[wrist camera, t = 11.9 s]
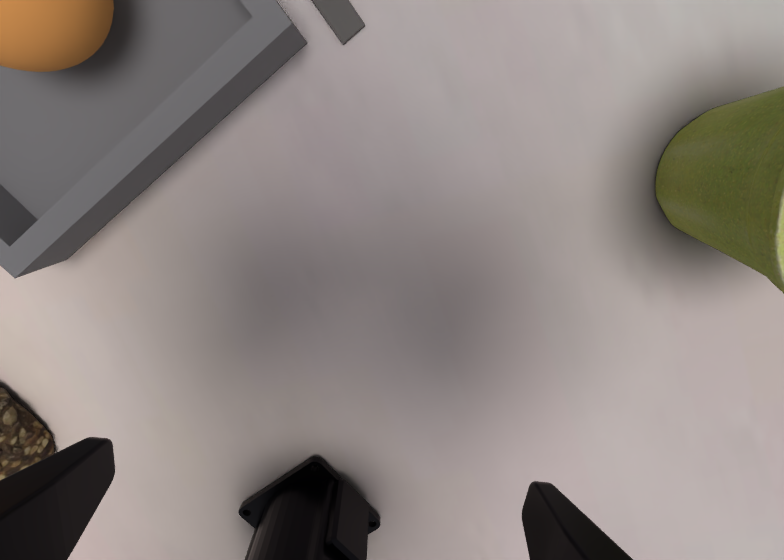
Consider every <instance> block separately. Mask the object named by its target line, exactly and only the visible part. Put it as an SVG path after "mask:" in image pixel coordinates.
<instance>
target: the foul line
mask: <svg viewBox="0 0 784 560" xmlns="http://www.w3.org/2000/svg"><path fill="white" fill-rule="evenodd" d="M312 1H313V2H314V4H315V5H316V7H317V8H318V9H319V11H320V12H321V14H322V15H323V17H324V18H325V19H326V21H327V22H328V24H329V25H330V26H331V28H332V29H333V31H334V32H335V34H336V35H337V36H338V38H339V39H340V41H341V42H342V43H343V45H344V44H345V43H346V42H347V41H348V40H349V39H351V38H352V37H353V36H354V35H355V34H356V33H357V32H358V31H360V30H361V29H362V28H363V27H364V26H365V24H364V22H363V21H362V19H361V18H360V16H359V15H358V14H357V12H356V11H355V9H354V8H353V6H352V5H351V3H350V2H349V0H312Z"/></svg>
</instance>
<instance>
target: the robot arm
mask: <svg viewBox="0 0 784 560" xmlns="http://www.w3.org/2000/svg"><path fill="white" fill-rule="evenodd" d="M313 465H317V466H318V467H314V466H313ZM114 474H115V463H114V453H113V444H112V442H111V440H110V439H107V438H98V437H89V438H86V439H83V440H81V441H79V442H77V443H75V444H73V445H71V446H69V447H67V448H65V449H63V450H61V451H59V452H57V453H55V454H53V455H51V456H49V457H47V458H45V459H43V460H41V461H39V462H37V463H34V464H32V465H30V466H28V467H26V468H24V469H22V470H20V471H18V472H16V473H14V474H12V475H10V476H8V477H6V478H4V479H2V480H0V560H67V559H68V557H69V556H70V554H71V552H72V551H73V549H74V547H75V546H76V544H77V542H78V540H79V539H80V537H81V535H82V533H83V532H84V530H85V528H86V526H87V525H88V523H89V521H90V519H91V518H92V516H93V514H94V512H95V511H96V509H97V507H98V505H99V504H100V502H101V500H102V498H103V497H104V495H105V493H106V491H107V490H108V488H109V486H110V484H111V482H112V480H113V478H114ZM239 515H240V516H241V517H242V518H243V519H244V520H246V521H247V522H248V523H249V524H250V525H251V526H252V527H254V528H255V531H254V534H253V537H252V540H251V542H250V545H249V548H248V551H247V554H246V557H245V560H366V559H367V538H368V534H370V533H371V532H373V531H375V530H376V529H378V528H379V527H380V516H379V515H378V514H377V513H376V512H375V511H374V510H373V509H372V508H371V507H370V506H369V504H368V503H367V502H366V501H365V500H364V499H363V498H362V497H361V496H360V495H359V494H358V493H357V492H356V491H355V490H354V489H353V488H352V487H351V486H350V485H349V484H348V483H347V482H346V481H345V480H343V479H342V478H341V477H340V476H339V475H338V474H337V473H336V472H335V471H334V470H333V469H332V468H331V467H330V466H329V465H328V464H327V463H326V462H325V461H324V460H323V459H321V458H319V457H312V458H310V459H309V460H307V461H306V462H304V463H302V464H301V465H299V466H298V467H296V468H295V469H293V470H292V471H290V472H289V473H287V474H286V475H284V476H283V477H281V478H280V479H278V480H277V481H275V482H274V483H272V484H271V485H269V486H267V487H266V488H264V489H263V490H261V491H260V492H258V493H257V494H255V495H254V496H252V497H251V498H249V499H248V500H246V501H245V502H243V503H242V504H241V507H240V509H239ZM371 521H374V522H371ZM522 522H523V527H524V532H525V537H526V542H527V547H528V552H529V557H530V560H633V559H632V558H631V557H630V556H629V555H628V554H627V553H625V552H624V551H623V550H622V549H621V548H620V547H619V546H618V545H617V544H616V543H615V542H614V541H613V540H612V539H610V538H609V537H608V536H607V535H606V534H605V533H604V532H603V531H602V530H601V529H600V528H599V527H598V526H597V525H595V524H594V523H593V522H592V521H591V520H590V519H589V518H588V517H587V516H586V515H585V514H584V513H583V512H582V511H580V510H579V509H578V508H577V507H576V506H575V505H574V504H573V503H572V502H571V501H570V500H569V499H568V498H567V497H565V496H564V495H563V494H562V493H561V492H560V491H559V490H558V489H557V488H556V487H555V486H554V485H552V484H551V483H548V482H538V481H534V482H532V483H531V484H530V486H529V489H528V492H527V496H526V499H525V502H524V505H523V509H522Z"/></svg>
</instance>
